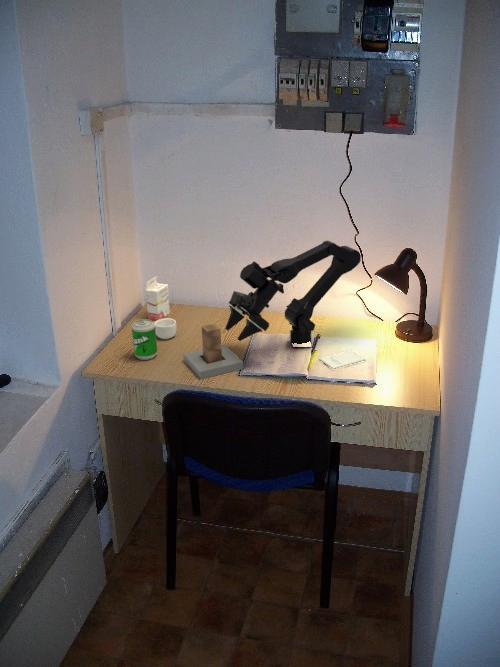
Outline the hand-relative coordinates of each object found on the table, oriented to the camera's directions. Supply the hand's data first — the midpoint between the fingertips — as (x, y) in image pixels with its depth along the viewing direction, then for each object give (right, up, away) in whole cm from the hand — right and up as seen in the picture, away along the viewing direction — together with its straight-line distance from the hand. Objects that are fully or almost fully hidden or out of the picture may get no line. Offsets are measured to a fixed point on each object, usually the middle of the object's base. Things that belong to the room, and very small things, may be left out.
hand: (232, 334), depth 209 cm
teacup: (-24, 0, +23) cm, 33 cm away
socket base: (-6, -10, +1) cm, 11 cm away
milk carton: (-29, +7, +39) cm, 49 cm away
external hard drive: (+35, -9, +2) cm, 36 cm away
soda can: (-29, -7, +8) cm, 31 cm away
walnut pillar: (-6, -10, +1) cm, 11 cm away
